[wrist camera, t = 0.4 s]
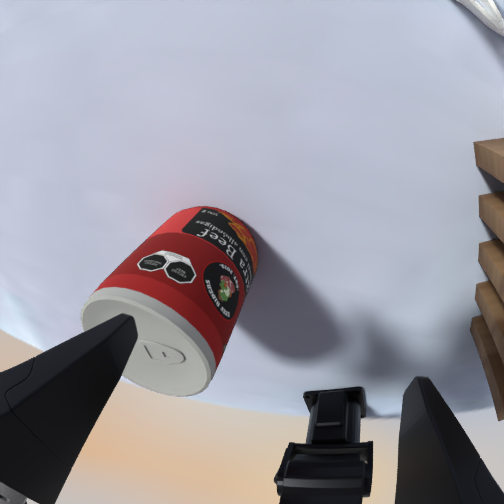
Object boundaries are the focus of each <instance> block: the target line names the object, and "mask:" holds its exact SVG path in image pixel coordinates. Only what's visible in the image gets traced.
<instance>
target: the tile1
mask: <svg viewBox="0 0 504 504" xmlns="http://www.w3.org/2000/svg"><path fill="white" fill-rule="evenodd" d="M470 331H471V334H472V336H473V339H474V342H475V344H476V347H477V350H478V353H479V356H480V359H481V362H482V365H483V368H484V371H485V374H486V377H487V380H488V384H489V387H490V391H491V394H492V398H493V402H494V406H495V410H496V414H497V418H498V421H501V420H503V419H504V365H503V362H502V360H501V357H500V354H499V352H498V349H497V347H496V344H495V342H494V340H493V337H492V335H491V332H490V330H489V328H488V326H487V323H486V321H485V319H484V317H483V315H481V316H477V317H474V318H472V323H471V328H470Z"/></svg>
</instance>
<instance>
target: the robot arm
mask: <svg viewBox="0 0 504 504" xmlns="http://www.w3.org/2000/svg"><path fill="white" fill-rule="evenodd" d="M137 339H138V331H137V327H136V323H135V319H134V317H133V316H131V315H128V314H125V313H121V314H119V315H117V316H115V317H113V318H111V319H109V320H107V321H105V322H103V323H101V324H99V325H97V326H95V327H93V328H91V329H89V330H87V331H85V332H83V333H81V334H79V335H77V336H75V337H73V338H71V339H69V340H67V341H65V342H63V343H61V344H59V345H57V346H55V347H53V348H51V349H49V350H47V351H45V352H43V353H41V354H39V355H37V356H36V357H33V358H31V359H29V360H28V361H25V362H23V363H21V364H19V365H17V366H15V367H12V368H10V369H8V370H5V371H3V372H0V504H27V502H26V500H27V498H29V499H31V500H33V501H35V502H37V503H39V504H55V502H56V500H57V498H58V496H59V494H60V492H61V490H62V487H63V485H64V483H65V481H66V479H67V477H68V475H69V473H70V471H71V469H72V467H73V465H74V463H75V461H76V459H77V457H78V455H79V453H80V451H81V449H82V447H83V445H84V443H85V442H86V440H87V438H88V436H89V434H90V432H91V430H92V428H93V427H94V425H95V423H96V421H97V419H98V417H99V415H100V414H101V412H102V410H103V408H104V406H105V405H106V403H107V401H108V399H109V397H110V396H111V394H112V392H113V390H114V388H115V387H116V385H117V383H118V381H119V380H120V378H121V376H122V373H123V371H124V369H125V367H126V364H127V362H128V360H129V357H130V355H131V353H132V351H133V348H134V346H135V344H136V342H137ZM303 398H304V400H305V403H306V405H307V407H308V410H309V412H310V420H309V426H308V433H307V438H306V444H300V443H292V442H290V443H289V445H288V448H286V451H285V454H284V456H283V460H282V463H281V465H280V468H279V470H278V472H277V474H276V475H275V477H274V482H275V483H276V485H277V493H278V495H279V496H281V497H280V503H279V504H362V498H363V497H370V492H371V485H372V473H373V441H368V442H363V443H360V420H361V418H364V417H366V411H365V403H364V395H363V389H362V388H361V387H353V388H344V389H335V390H323V391H310V392H304V394H303ZM398 447H399V448H398V469H397V484H396V496H395V504H504V493H503V491H502V490H501V488H500V487H499V485H498V484H497V483H496V481H495V480H494V478H493V477H492V475H491V473H490V472H489V470H488V469H487V467H486V465H485V464H484V462H483V460H482V459H481V458H480V455H479V454H478V452H477V450H476V449H475V447H474V445H473V444H472V442H471V441H470V439H469V437H468V436H467V434H466V433H465V431H464V429H463V428H462V426H461V425H460V423H459V422H458V420H457V419H456V417H455V416H454V414H453V413H452V411H451V410H450V408H449V407H448V405H447V404H446V402H445V401H444V399H443V398H442V396H441V395H440V393H439V392H438V390H437V389H436V387H435V386H434V385H433V383H432V382H431V380H430V379H429V378H428V377H424V376H417V377H415V378H414V379H413V381H412V382H411V383H410V385H409V386H408V388H407V389H406V390H405V392H404V395H403V403H402V414H401V423H400V432H399V445H398Z"/></svg>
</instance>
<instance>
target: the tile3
mask: <svg viewBox="0 0 504 504" xmlns="http://www.w3.org/2000/svg"><path fill="white" fill-rule="evenodd" d="M478 262H479V263H480V265H481V266H482V268H483V269H484V271H485V272H486V274H487V275H488V277H489V279H490V280H491V282H492V283H493V285H494V287H495V288H496V290H497V292H498V294H499V295H500V297H501V299H502V300H503V302H504V243H503V242H502V241H501V240H500V239H495V240H491V241H487V242H482V243H479V258H478Z"/></svg>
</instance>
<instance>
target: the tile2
mask: <svg viewBox="0 0 504 504" xmlns="http://www.w3.org/2000/svg"><path fill="white" fill-rule="evenodd" d="M475 300H476V302H477V304H478V306H479V308H480V311H481V313H482V315H483V317H484V319H485V321H486V323H487V326H488V328H489V330H490V332H491V335H492V337H493V340H494V342H495V344H496V347H497V349H498V352H499V354H500V357H501V360H502V362H503V365H504V302H503V300H502V299H501V297H500V295H499V294H498V292H497V290H496V288H495V287H494V285H493V283H492V282H491V280H490V281H486V282H482V283H478V284H476V294H475Z"/></svg>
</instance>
